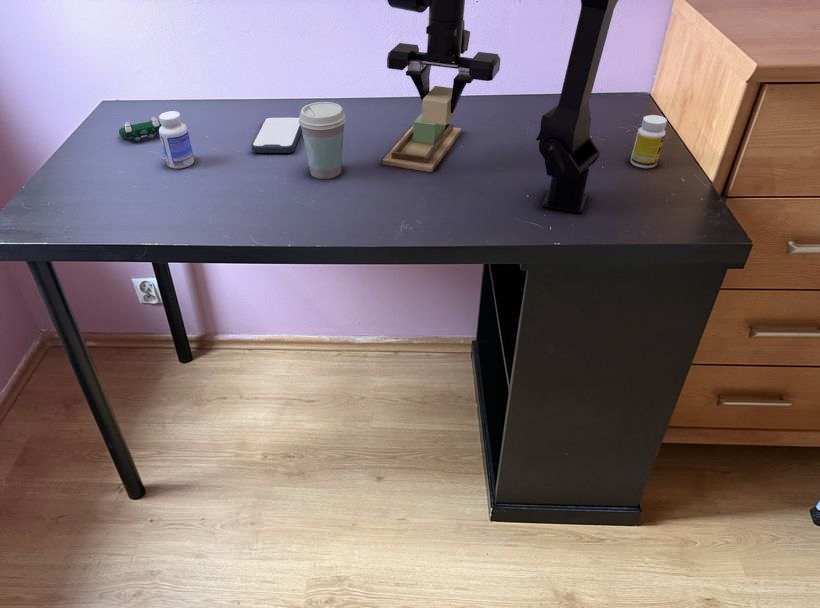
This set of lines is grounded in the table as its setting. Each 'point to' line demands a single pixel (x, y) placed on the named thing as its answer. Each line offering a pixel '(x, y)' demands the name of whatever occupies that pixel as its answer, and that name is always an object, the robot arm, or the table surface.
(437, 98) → the beige rectangular block
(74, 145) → the table surface
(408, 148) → the wooden tray
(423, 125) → the green rectangular block
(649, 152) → the supplement bottle
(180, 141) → the pill bottle
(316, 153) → the coffee cup
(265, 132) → the phone case
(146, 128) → the green toy car
